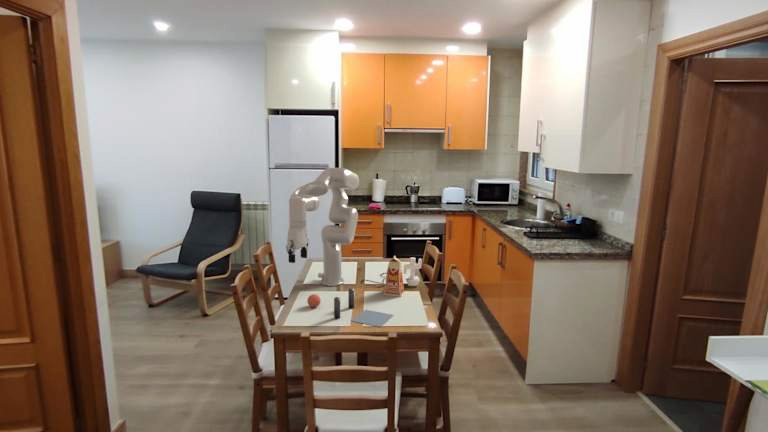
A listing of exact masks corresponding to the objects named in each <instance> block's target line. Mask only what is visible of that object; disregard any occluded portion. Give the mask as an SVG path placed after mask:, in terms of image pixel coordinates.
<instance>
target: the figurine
mask: <svg viewBox="0 0 768 432" xmlns="http://www.w3.org/2000/svg"><path fill="white" fill-rule="evenodd" d="M409 260H410V262H409V263H404V265H403V274H404V275H407V274H408V270H409V275H407V276H404V278H405V281H406V283H407V285H408V287H417V286H418V285H419V284H420V282H421V280H420V278H419V276H418V275H416V271H415V270H420V269H422V265H423V263H422V258H418V262H417V263H416V257H410V258H409Z"/></svg>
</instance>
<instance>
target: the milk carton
mask: <svg viewBox="0 0 768 432" xmlns="http://www.w3.org/2000/svg"><path fill="white" fill-rule="evenodd" d="M386 273H387V274H386V279H385V284H384V290H383V296H392V297H402V296H403V294H404V292H405V289H404V278H403V277H404V276H403V268H402V261H401V260H400V259H398V258H397V257H396V255H393V257H392V259H390V260H389V262H388V266H387V269H386Z"/></svg>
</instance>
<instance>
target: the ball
mask: <svg viewBox="0 0 768 432" xmlns="http://www.w3.org/2000/svg"><path fill="white" fill-rule="evenodd" d="M321 301H322V300H321V297H320V296H319V295H318V294H316V293H312V294H310V295H309V296H308V298H307V304H308V306H309V307H310V308H316V307H319V305H320V304H321Z"/></svg>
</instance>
